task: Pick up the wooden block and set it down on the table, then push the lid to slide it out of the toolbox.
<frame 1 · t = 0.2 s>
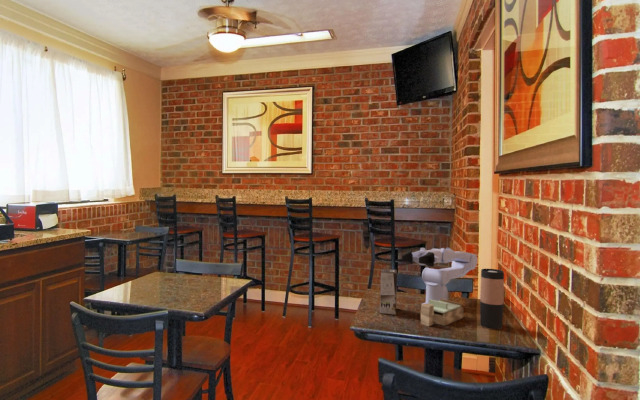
hand: (410, 259, 147), 22 cm above the table, tool horizontal, fingers open, 7 cm apart
coffee box: (388, 311, 151), on the table
toolbox: (441, 318, 143), on the table
lid: (441, 303, 142), point 6 cm above the table, slide at 0.0 cm
travel mug: (491, 326, 135), on the table
wooden block: (427, 324, 135), on the table
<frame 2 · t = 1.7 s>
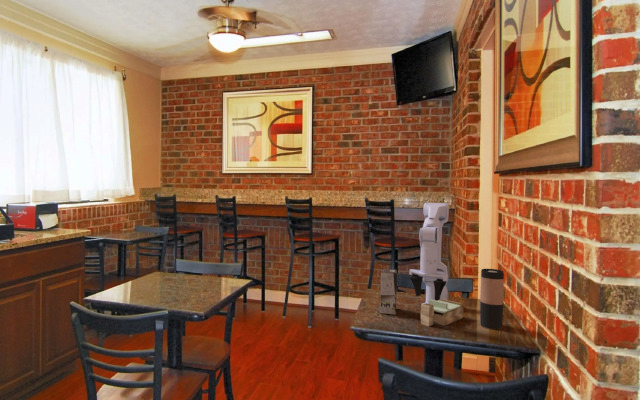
hand: (427, 297, 135), 10 cm above the table, tool pointing down, fingers open, 7 cm apart
nothing on the table moved.
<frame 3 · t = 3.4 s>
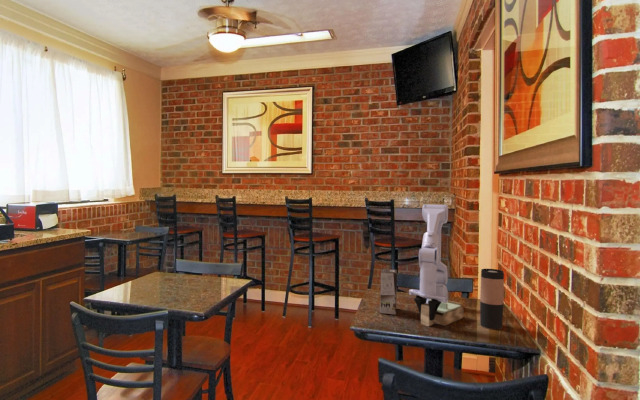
hand: (427, 318, 135), 2 cm above the table, tool pointing down, fingers closed on wooden block, 3 cm apart
wooden block: (427, 324, 135), on the table, touching gripper
everything else where it was.
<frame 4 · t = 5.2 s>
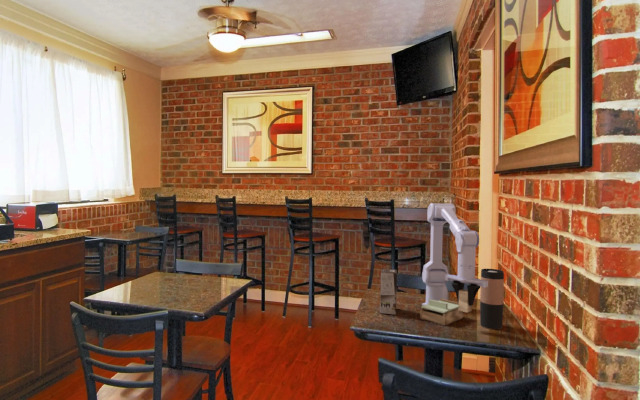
hand: (465, 304, 132), 9 cm above the table, tool pointing down, fingers closed on wooden block, 3 cm apart
wooden block: (464, 310, 132), point 6 cm above the table, touching gripper
everything else where it was.
when the fingers open (3 cm above the table, at t = 6.8 s): wooden block drops 1 cm, on the table.
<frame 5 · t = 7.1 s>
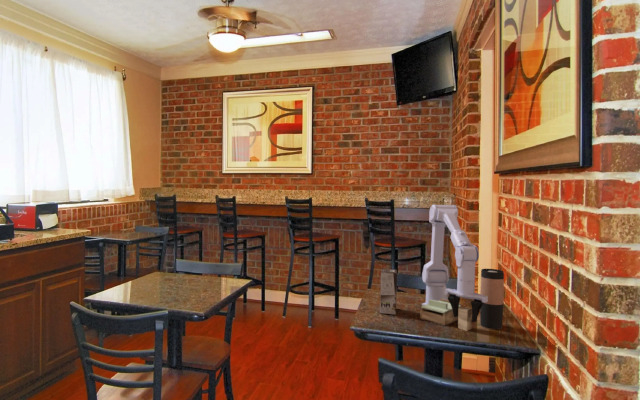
hand: (465, 318, 132), 3 cm above the table, tool pointing down, fingers open, 6 cm apart
wooden block: (464, 328, 132), on the table
everything else where it was.
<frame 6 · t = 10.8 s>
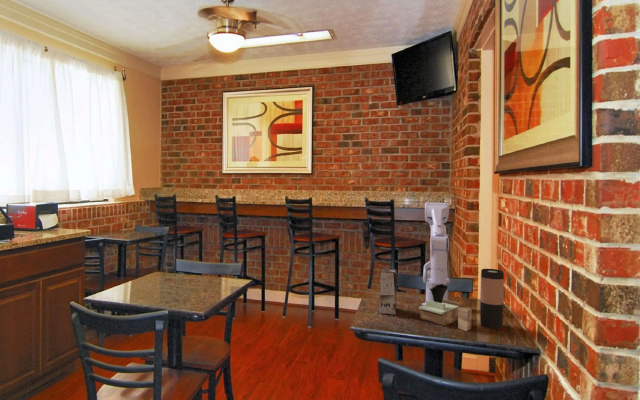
hand: (437, 304, 140), 6 cm above the table, tool pointing down, fingers closed
lid: (438, 304, 141), point 6 cm above the table, slide at 1.8 cm, touching gripper
everything else where it was.
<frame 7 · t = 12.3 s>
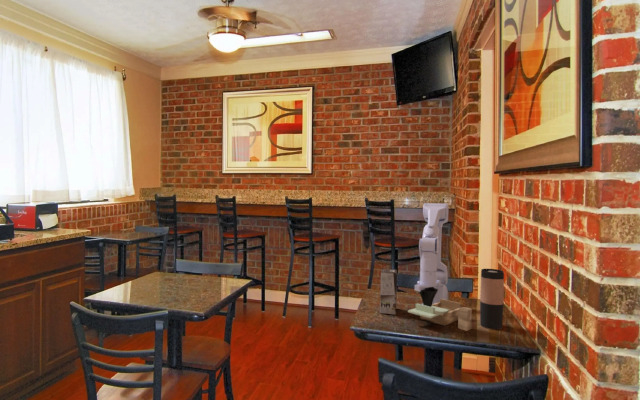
hand: (427, 308, 135), 6 cm above the table, tool pointing down, fingers closed
lid: (428, 308, 136), point 6 cm above the table, slide at 9.1 cm, touching gripper
everything else where it was.
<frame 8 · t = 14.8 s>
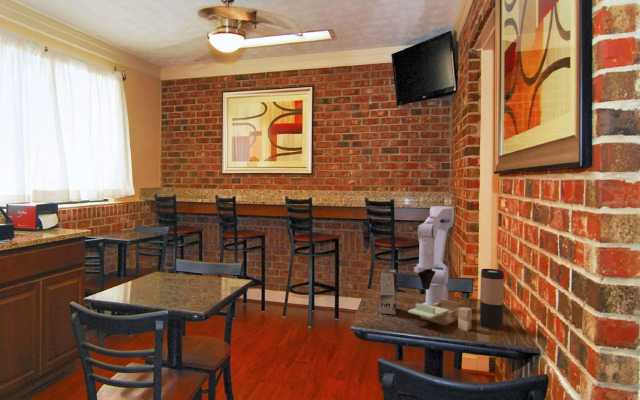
hand: (425, 288, 148), 10 cm above the table, tool pointing down, fingers closed
lid: (428, 308, 136), point 6 cm above the table, slide at 9.1 cm
everything else where it was.
at the end: lid slide at 9.1 cm; wooden block inside the target area (0.3 cm from its centre), on the table; the gripper is holding nothing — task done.
